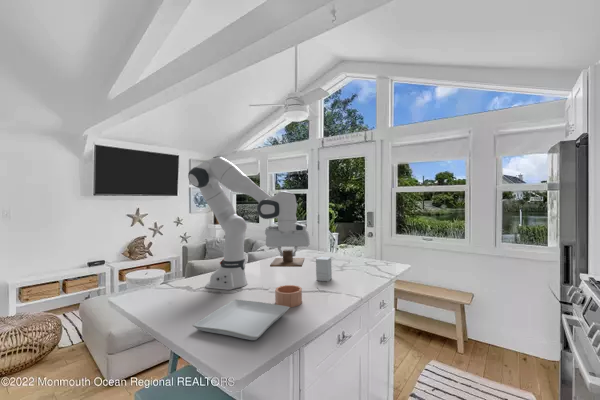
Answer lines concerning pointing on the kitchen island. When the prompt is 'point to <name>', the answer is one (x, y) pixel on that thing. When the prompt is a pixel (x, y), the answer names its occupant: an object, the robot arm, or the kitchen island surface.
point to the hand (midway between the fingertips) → (287, 256)
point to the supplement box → (323, 269)
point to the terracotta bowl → (288, 295)
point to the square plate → (242, 319)
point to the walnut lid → (287, 260)
